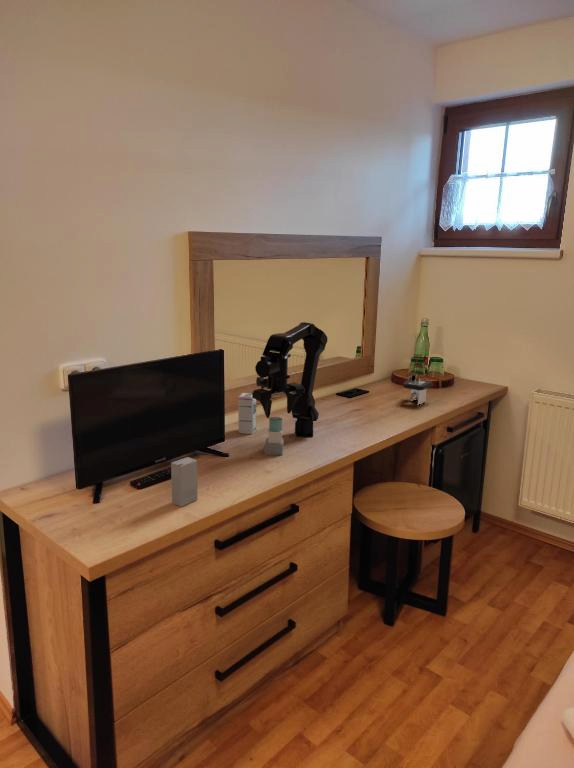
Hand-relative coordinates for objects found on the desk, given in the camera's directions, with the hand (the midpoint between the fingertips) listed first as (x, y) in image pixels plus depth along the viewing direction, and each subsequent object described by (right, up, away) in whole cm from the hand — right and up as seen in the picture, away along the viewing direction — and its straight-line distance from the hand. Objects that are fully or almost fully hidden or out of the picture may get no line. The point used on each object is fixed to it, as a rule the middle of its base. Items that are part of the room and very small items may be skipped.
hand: (278, 415), depth 201 cm
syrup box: (-12, -7, +20) cm, 25 cm away
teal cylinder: (-1, -5, -2) cm, 5 cm away
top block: (-1, -9, -1) cm, 9 cm away
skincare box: (-25, -22, -40) cm, 52 cm away
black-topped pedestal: (+62, +2, +67) cm, 91 cm away
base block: (-1, -13, 0) cm, 13 cm away
